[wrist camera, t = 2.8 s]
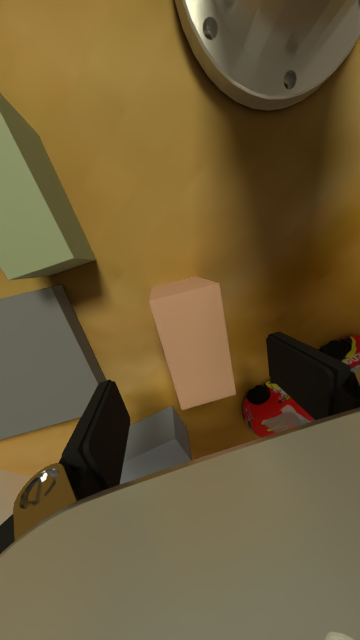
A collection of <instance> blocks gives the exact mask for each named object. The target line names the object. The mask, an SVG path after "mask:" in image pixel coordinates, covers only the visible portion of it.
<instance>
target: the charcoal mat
mask: <svg viewBox="0 0 360 640" xmlns="http://www.w3.org/2000/svg"><path fill="white" fill-rule="evenodd" d="M103 381H106V379H105V377H104V375H103V373H102V371H101V368H100V366H99V364H98V362H97V360H96V358H95V355H94V353H93V351H92V349H91V347H90V345H89V343H88V340H87V338H86V336H85V334H84V332H83V330H82V327H81V325H80V323H79V321H78V319H77V317H76V315H75V312H74V310H73V308H72V306H71V304H70V302H69V299H68V297H67V295H66V293H65V291H64V289H63V287H62V285H57V286H52V287H48V288H44V289H40V290H36V291H32V292H27V293H23V294H19V295H15V296H11V297H7V298H3V299H0V440H1V439H5V438H8V437H12V436H16V435H19V434H23V433H26V432H30V431H33V430H37V429H40V428H44V427H48V426H51V425H55V424H58V423H62V422H65V421H69V420H72V419H76V418H80V417H82V415H83V413H84V411H85V409H86V407H87V405H88V403H89V401H90V399H91V397H92V395H93V394H94V392H95V390H96V388H97V386H98V384H99V383H100V382H103Z"/></svg>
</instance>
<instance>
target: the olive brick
mask: <svg viewBox="0 0 360 640" xmlns="http://www.w3.org/2000/svg"><path fill="white" fill-rule="evenodd" d="M95 260H96V258H95V256H94V254H93V251H92V249H91V247H90V245H89V243H88V241H87V239H86V236H85V234H84V232H83V230H82V228H81V226H80V223H79V221H78V219H77V217H76V215H75V213H74V211H73V208H72V206H71V204H70V202H69V200H68V198H67V195H66V193H65V191H64V189H63V187H62V185H61V183H60V180H59V178H58V176H57V174H56V172H55V170H54V167H53V165H52V163H51V161H50V159H49V157H48V155H47V152H46V150H45V148H44V146H43V144H42V142H41V139H40V137H39V135H38V134H37V133H36V132H35V130H34V129H33V128H32V127H31V126H30V125H29V124H28V123H27V122H26V121H25V120H24V118H23V117H22V116H21V115H20V114H19V113H18V112H17V111H16V110H15V109H14V108H13V106H12V105H11V104H10V103H9V102H8V101H7V100H6V99H5V98H4V97H3V96H2V94H1V93H0V268H1V269H2V271H3V272H4V274H5V275H6V277H7V278H8V280H14V279H24V278H34V277H45V276H50V275H53V274H56V273H59V272H62V271H65V270H68V269H71V268H74V267H77V266H80V265H83V264H86V263H89V262H92V261H95Z"/></svg>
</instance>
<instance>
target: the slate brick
mask: <svg viewBox="0 0 360 640" xmlns="http://www.w3.org/2000/svg"><path fill="white" fill-rule="evenodd" d="M191 460H192V457H191V451H190V445H189V439H188V434H187V428H186V426H185V425H184V423H183V422H182V420H181V419H180V417H179V415H178V414H177V412H176V411H175V409H174V408H173V406H170V407H168V408H166V409H164V410H162V411H159V412H157V413H155V414H153V415H151V416H149V417H147V418H145V419H143V420H140V421H138V422H136V423H134V424H132V425H130V428H129V434H128V440H127V445H126V451H125V457H124V463H123V468H122V474H121V480H120V484H123V483H126V482H129V481H132V480H134V479H137V478H140V477H143V476H146V475H149V474H152V473H155V472H158V471H161V470H164V469H167V468H170V467H173V466H176V465H179V464H182V463H185V462H188V461H191Z"/></svg>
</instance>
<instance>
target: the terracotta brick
mask: <svg viewBox="0 0 360 640" xmlns="http://www.w3.org/2000/svg"><path fill="white" fill-rule="evenodd" d="M149 303H150V307H151V310H152V313H153V317H154V320H155V323H156V326H157V330H158V333H159V336H160V340H161V343H162V346H163V350H164V353H165V356H166V360H167V363H168V366H169V370H170V373H171V376H172V380H173V383H174V386H175V390H176V393H177V396H178V400H179V403H180V406H181V409H182V410H184V409H188V408H191V407H195V406H198V405H202V404H205V403H208V402H212V401H215V400H219V399H222V398H226V397H229V396H233V395H236V391H235V384H234V377H233V371H232V364H231V357H230V351H229V344H228V338H227V331H226V324H225V318H224V311H223V304H222V298H221V291H220V285H219V283H217V282H214V281H210V280H207V279H203V278H200V277H197V276H196V277H192V278H188V279H184V280H180V281H176V282H172V283H168V284H164V285H160V286H156V287H152V290H151V294H150V299H149Z"/></svg>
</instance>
